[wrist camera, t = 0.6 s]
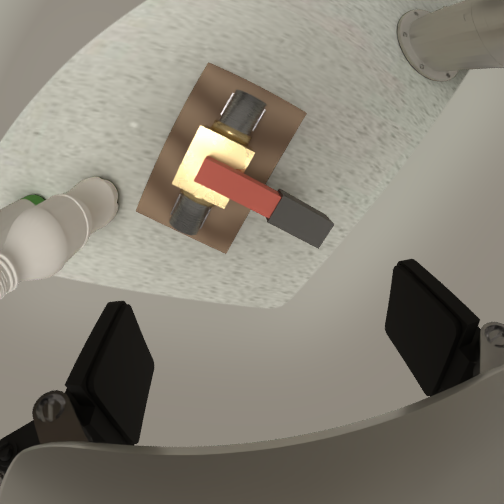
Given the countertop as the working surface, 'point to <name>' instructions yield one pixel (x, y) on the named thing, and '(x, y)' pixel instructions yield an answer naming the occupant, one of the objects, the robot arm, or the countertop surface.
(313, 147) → the countertop surface
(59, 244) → the water bottle
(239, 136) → the ball valve
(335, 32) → the countertop surface
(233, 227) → the mounting board
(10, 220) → the wine bottle
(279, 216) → the valve lever
